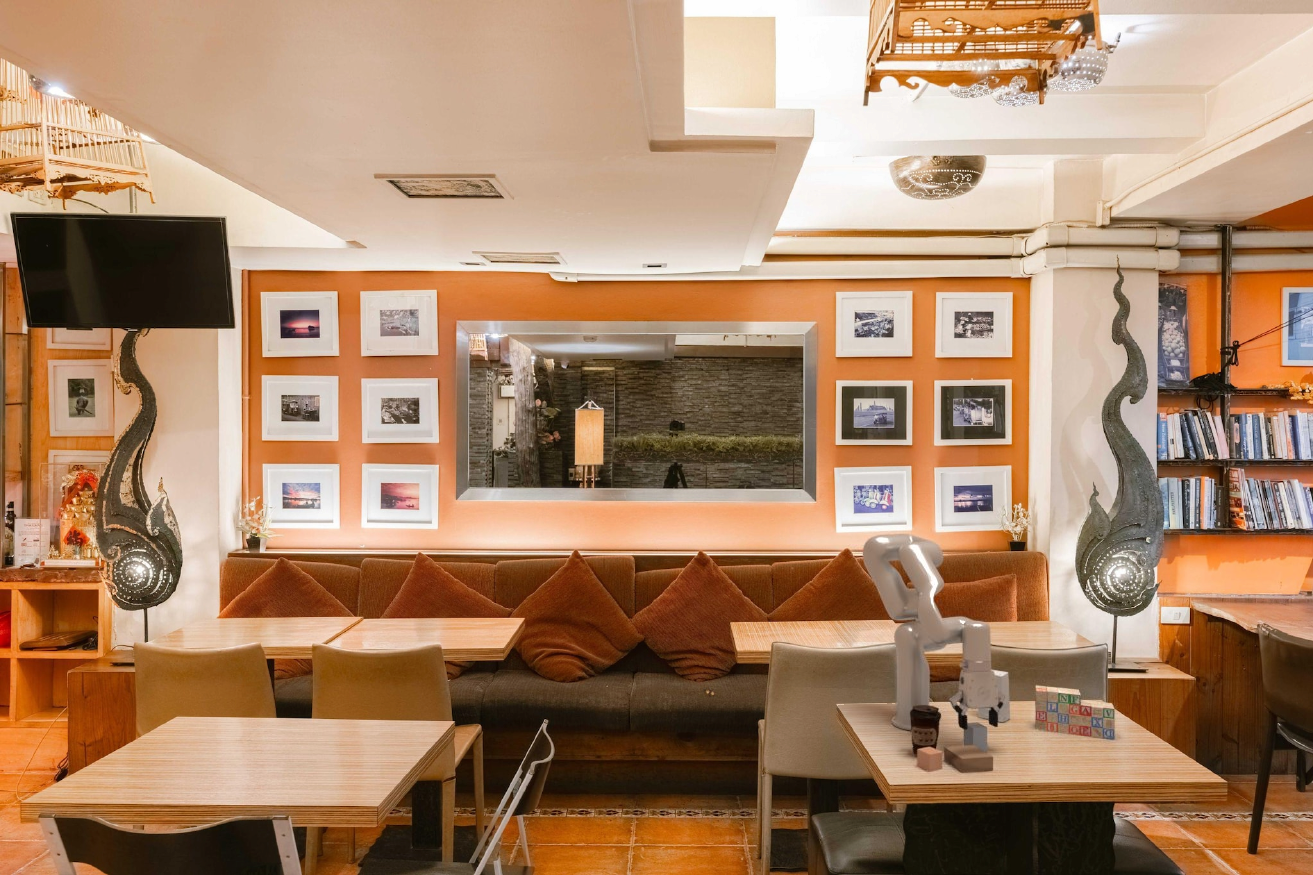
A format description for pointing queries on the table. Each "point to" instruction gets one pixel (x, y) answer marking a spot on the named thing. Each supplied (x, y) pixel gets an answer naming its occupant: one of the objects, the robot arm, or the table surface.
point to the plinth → (968, 758)
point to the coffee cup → (924, 726)
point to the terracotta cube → (929, 758)
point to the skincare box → (1002, 688)
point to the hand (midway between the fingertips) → (978, 726)
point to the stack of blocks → (1072, 713)
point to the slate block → (976, 735)
